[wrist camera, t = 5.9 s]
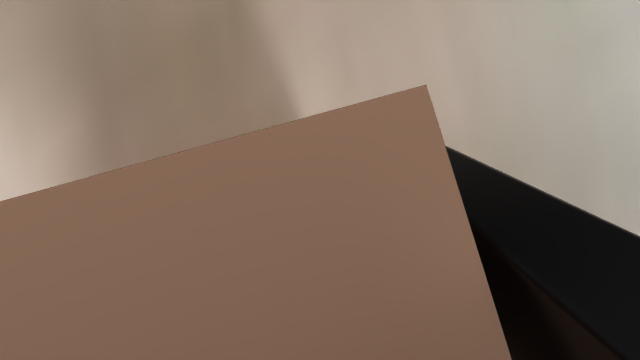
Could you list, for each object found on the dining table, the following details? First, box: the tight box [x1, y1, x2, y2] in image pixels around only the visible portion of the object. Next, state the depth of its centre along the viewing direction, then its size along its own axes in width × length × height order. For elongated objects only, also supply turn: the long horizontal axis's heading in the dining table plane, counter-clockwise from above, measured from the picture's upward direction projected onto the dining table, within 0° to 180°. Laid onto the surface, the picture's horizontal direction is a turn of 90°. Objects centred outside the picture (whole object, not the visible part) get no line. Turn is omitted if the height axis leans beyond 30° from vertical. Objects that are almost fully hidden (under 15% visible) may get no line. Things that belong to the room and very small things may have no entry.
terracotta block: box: [0, 85, 512, 360], centre depth 10 cm, size 5×4×10 cm
